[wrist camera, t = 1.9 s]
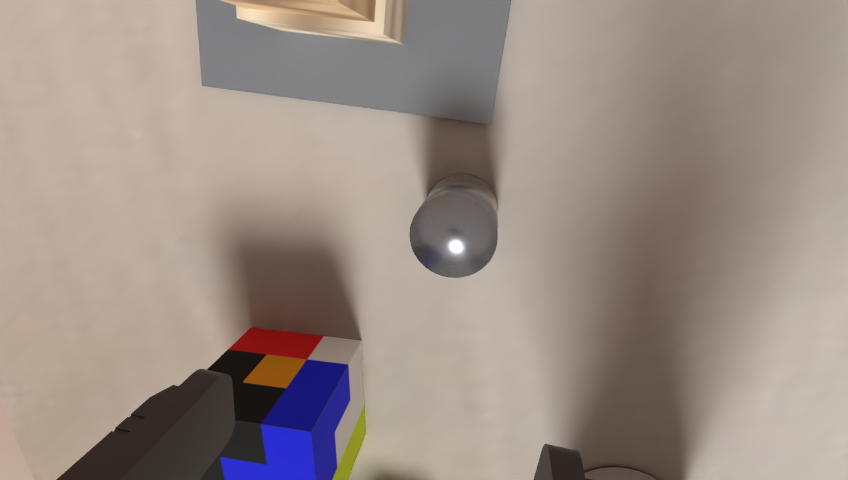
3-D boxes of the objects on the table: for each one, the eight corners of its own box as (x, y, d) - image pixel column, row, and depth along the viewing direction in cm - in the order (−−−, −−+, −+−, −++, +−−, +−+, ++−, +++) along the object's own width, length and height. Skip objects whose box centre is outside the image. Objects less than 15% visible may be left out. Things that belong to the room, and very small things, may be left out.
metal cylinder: (503, 180, 28) (504, 202, 22) (490, 248, 30) (488, 284, 24) (431, 168, 28) (414, 188, 23) (422, 236, 30) (405, 269, 25)
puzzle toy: (361, 339, 34) (311, 431, 25) (365, 433, 38) (322, 544, 28) (251, 327, 36) (165, 409, 27) (264, 418, 39) (192, 519, 30)
